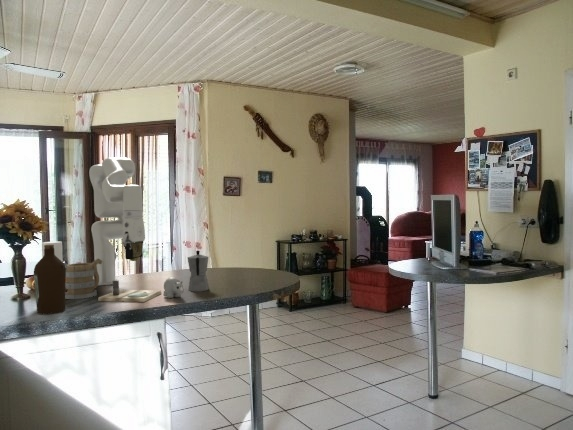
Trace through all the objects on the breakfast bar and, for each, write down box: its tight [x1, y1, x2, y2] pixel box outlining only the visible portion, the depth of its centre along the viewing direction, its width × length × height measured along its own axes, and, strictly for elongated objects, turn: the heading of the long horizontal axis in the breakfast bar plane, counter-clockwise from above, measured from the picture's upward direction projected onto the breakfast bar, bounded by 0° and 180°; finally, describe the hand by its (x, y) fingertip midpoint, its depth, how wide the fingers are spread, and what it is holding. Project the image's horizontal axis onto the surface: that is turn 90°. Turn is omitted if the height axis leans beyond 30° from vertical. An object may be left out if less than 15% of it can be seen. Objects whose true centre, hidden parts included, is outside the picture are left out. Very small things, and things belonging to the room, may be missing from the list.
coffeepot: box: [186, 250, 210, 293], centre depth 202 cm, size 15×9×18 cm, turn 10°
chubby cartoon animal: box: [163, 276, 185, 299], centre depth 186 cm, size 7×12×8 cm, turn 40°
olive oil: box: [33, 245, 67, 315], centre depth 166 cm, size 11×11×25 cm
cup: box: [128, 241, 144, 262], centre depth 185 cm, size 8×7×8 cm
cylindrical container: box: [41, 241, 64, 263], centre depth 178 cm, size 7×7×25 cm
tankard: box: [65, 259, 102, 300], centre depth 197 cm, size 20×13×15 cm, turn 160°
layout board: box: [97, 279, 162, 303], centre depth 189 cm, size 20×16×8 cm
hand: (134, 257), depth 185 cm, fingers closed on cup, 6 cm apart
